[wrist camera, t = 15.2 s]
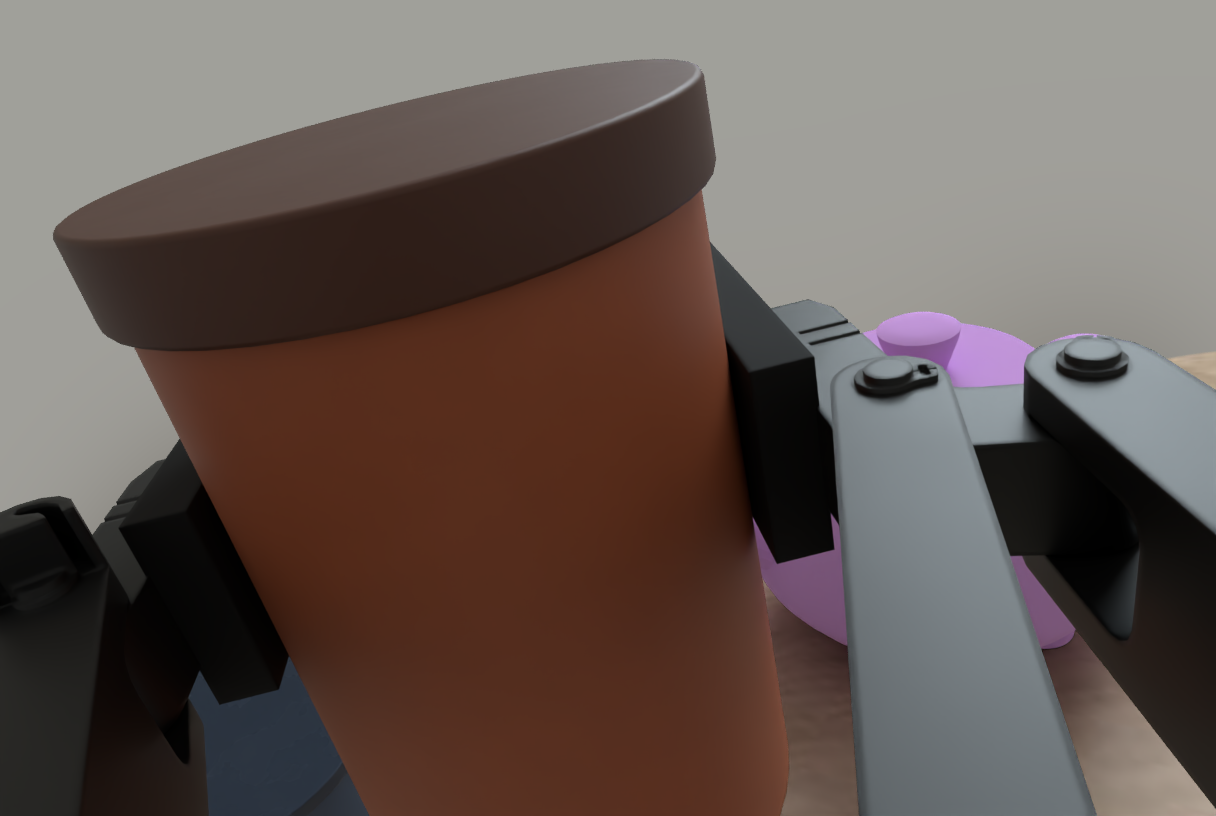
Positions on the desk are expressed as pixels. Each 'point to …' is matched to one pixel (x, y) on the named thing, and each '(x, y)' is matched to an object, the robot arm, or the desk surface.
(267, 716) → the tin
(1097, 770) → the desk surface
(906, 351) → the teapot
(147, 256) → the canister
